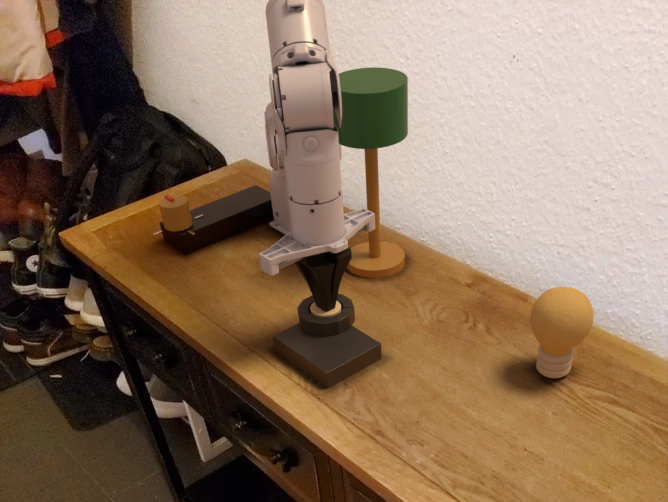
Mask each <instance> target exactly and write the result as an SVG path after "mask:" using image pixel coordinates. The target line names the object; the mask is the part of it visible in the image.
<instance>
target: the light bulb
mask: <svg viewBox="0 0 668 502" xmlns="http://www.w3.org/2000/svg"><path fill="white" fill-rule="evenodd" d="M529 317H530V318H529V324H530V329H531V332H532V334H533V336H534V337H535V339H536V340H537V342H538V343H539V346H538V352H537V357H536V364H535V367H536V368H535V369H536V370H537V372H538V373H539V374H540V375H542V376H544V377H546V378H549V379H560V378H563V377H565V376H567V375H568V374H570V372H571V369H572V364H573V357H574V353H575V347H577V346H578V345H580V344H581V343H582V342H583V341H584V340H585V339H586V338H587V337H588V335H589V334H590V331H591V329H592V327H593V324H594V308H593V305H592V303H591V300H590V299H589V298H588V296H587V295H586V294H585V293H584V292H583V291H581V290H579V289H577V288H574V287H570V286H557V287H552V288H549V289H547V290H544V292H542V293H541V294H540V295H539V296H538V297H537V299H536V300H535V302H534V303H533V305H532V308H531V311H530V316H529Z"/></svg>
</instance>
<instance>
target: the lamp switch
mask: <svg viewBox="0 0 668 502" xmlns="http://www.w3.org/2000/svg"><path fill="white" fill-rule="evenodd" d="M310 310H311V314H312V315H313V316H315V317H321V318H325V317H332V316H335V315H337V314H339V313H341V304H340V303H339V302H338V301H336V306H335V308H334V309H332V310H330V311H328V312H325V311H323V310H322V309H320V308H318V307H317V306H316V304H315V302H314V303H313V304H312V305H311V307H310Z"/></svg>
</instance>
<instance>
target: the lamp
mask: <svg viewBox="0 0 668 502" xmlns="http://www.w3.org/2000/svg"><path fill="white" fill-rule="evenodd" d="M338 74H339V79H340V87H341V98H342V121H341V128H339V126H338V121H337V114H336V112H335V111H334V109H333V122H334V123H335V125H336V126H337V128H338V136H339V144H341V146H343V147H346V148H351V149H357V150H364V169H365V191H366V193H365V194H366V209H367V210H369V211H371V212H373V213H375V230H373V231H370V232H367V236H368V237H367V238H368V241H365V242H361V243H358V244H356V245H354V246H352V247H351V248H350V249H351V253H352V259H351V260H350V262H349V264H348V265H347V267H346V270H348V271H349V272H350V273H351V274H353V275H355V276H358V277H361V278H367V279H381V278H386V277H390V276H393V275H395V274H397V273H399V272H400V271H401V270H403V268H404V267H405V264H406V254H405V251H404V249H403V247H401V246H400V245H397V244H395V243H393V242H390V241H383V240H382V239H381V215H380V214H381V213H380V211H381V210H380V207H381V206H380V181H379V180H380V178H379V177H380V176H379V152H378V150H379V149H383V148H387V147H388V148H389V147H391V146H394V145H397V144H399V143H401V142H403V141H404V140H405V139H406V138H407V137H408V135H409V77H408V76H407V74H405V73H404V72H403V71H400V70H397V69H394V68H388V67H373V66H372V67H359V68H354V69H348V70H344V71H343V72H338ZM381 240H382V241H381Z"/></svg>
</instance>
